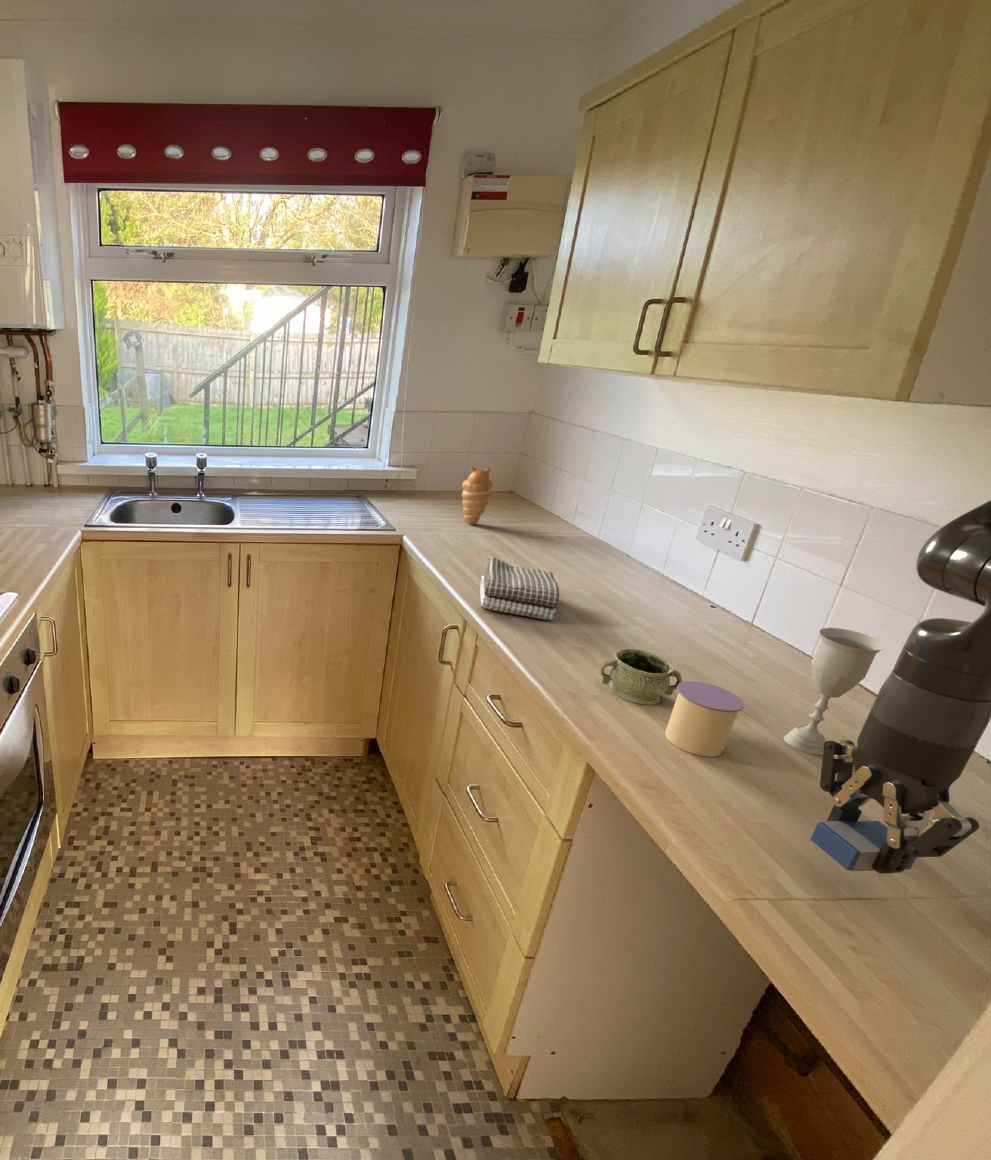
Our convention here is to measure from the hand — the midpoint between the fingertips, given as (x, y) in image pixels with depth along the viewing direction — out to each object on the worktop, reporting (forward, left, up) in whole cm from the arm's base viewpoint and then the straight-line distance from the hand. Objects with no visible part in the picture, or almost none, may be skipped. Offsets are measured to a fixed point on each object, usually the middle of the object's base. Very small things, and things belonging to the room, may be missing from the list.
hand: (859, 851), depth 70 cm
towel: (+40, -67, -5) cm, 78 cm away
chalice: (-4, -32, -5) cm, 33 cm away
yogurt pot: (+11, -24, -5) cm, 27 cm away
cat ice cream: (+58, -128, -5) cm, 141 cm away
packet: (0, 0, 0) cm, 0 cm away
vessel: (+18, -36, -5) cm, 41 cm away
